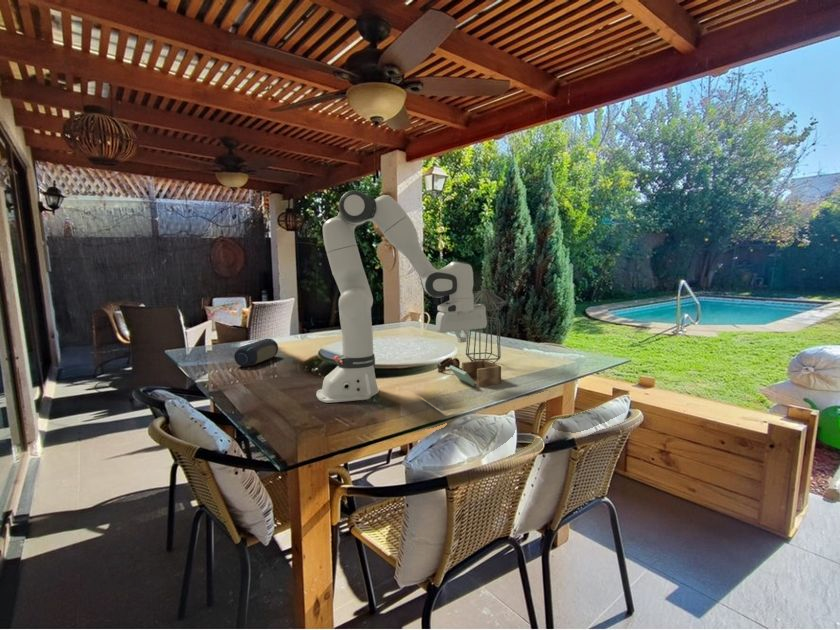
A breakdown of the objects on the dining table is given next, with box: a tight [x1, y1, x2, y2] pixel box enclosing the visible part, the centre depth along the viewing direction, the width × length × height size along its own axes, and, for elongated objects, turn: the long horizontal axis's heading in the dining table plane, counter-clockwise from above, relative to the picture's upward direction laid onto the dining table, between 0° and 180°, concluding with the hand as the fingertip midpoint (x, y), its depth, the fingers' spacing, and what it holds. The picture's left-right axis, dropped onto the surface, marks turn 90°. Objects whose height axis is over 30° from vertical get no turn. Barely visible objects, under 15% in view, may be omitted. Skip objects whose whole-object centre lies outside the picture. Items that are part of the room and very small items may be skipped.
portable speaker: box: [233, 338, 279, 368], centre depth 206 cm, size 25×10×10 cm, turn 166°
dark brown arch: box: [436, 356, 461, 373], centre depth 182 cm, size 12×10×8 cm
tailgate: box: [449, 365, 477, 388], centre depth 162 cm, size 1×12×7 cm
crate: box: [461, 360, 502, 388], centre depth 165 cm, size 10×12×8 cm
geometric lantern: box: [465, 288, 508, 364], centre depth 192 cm, size 16×16×35 cm
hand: (462, 342), depth 160 cm, fingers closed
